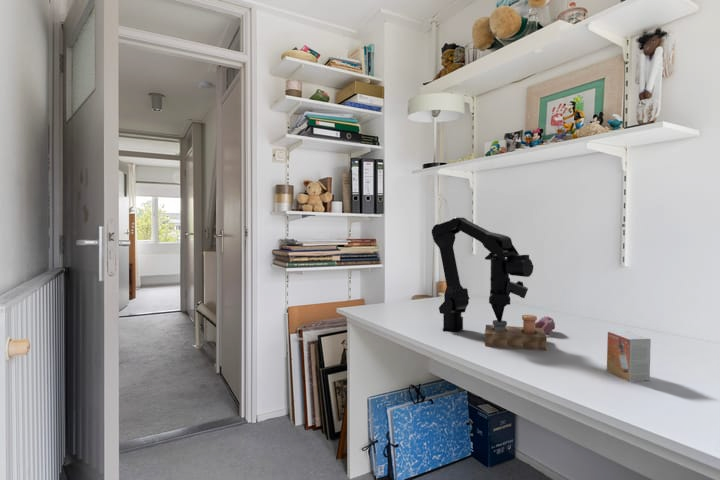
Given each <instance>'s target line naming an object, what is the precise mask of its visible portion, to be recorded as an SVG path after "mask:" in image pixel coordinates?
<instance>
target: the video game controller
mask: <svg viewBox="0 0 720 480" xmlns="http://www.w3.org/2000/svg"><path fill="white" fill-rule="evenodd" d="M535 328H543V330H544V333H545V335H546V336H547V335H549V333H551V332H552V331H554V330H555V329H556V323H555V320H554V319H553V318H552V317H550V316H545V315H544V316H543V317H541V318H540V319H539V320H538V321H535Z"/></svg>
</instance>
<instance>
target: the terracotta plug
mask: <svg viewBox="0 0 720 480" xmlns="http://www.w3.org/2000/svg"><path fill="white" fill-rule="evenodd" d="M537 319H538V317H537V316H536V315H534V314H522V315H521V320H522V321H523V322H522V324H523V325H522V327H523V333H531V334H535V323H536V322H537Z"/></svg>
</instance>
